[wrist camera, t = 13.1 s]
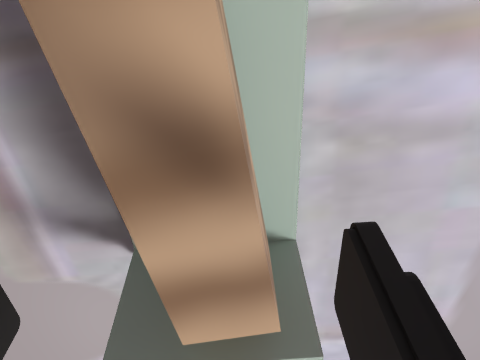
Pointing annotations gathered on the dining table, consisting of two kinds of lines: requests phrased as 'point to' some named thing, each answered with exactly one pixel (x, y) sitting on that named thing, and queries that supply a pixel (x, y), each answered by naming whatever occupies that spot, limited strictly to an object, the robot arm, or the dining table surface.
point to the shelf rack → (270, 193)
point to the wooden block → (170, 150)
